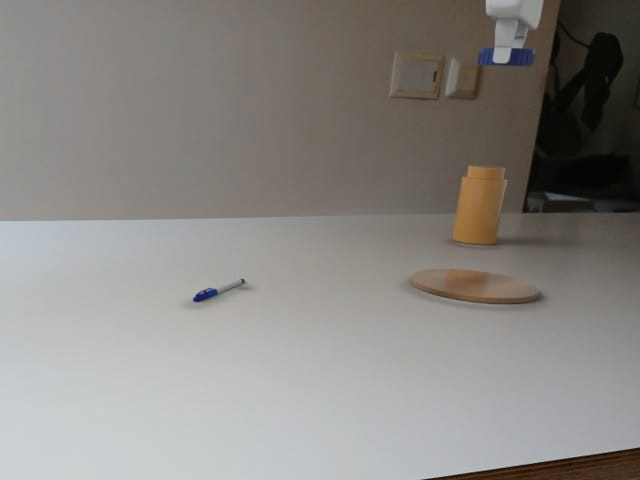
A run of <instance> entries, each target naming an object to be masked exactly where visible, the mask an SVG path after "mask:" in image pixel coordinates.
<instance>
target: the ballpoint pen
mask: <svg viewBox="0 0 640 480" xmlns="http://www.w3.org/2000/svg"><path fill="white" fill-rule="evenodd" d="M245 282H246V280H245V279H244V278H238V279H235V280H233V281H230V282H228V283H225V284H223V285H220V286H217V287H216V288H212V287H209V288H206V289H203V290H200V291H199V292H197V293H196V294H195V296H194V297H193V298H192V302H193V303H200V302H203V301H204V300H207V299H209V298H213V297H214V296H217V295H218V294H221V293H223V292H226V291H228V290H230V289H232V288H235V287H237V286H239V285H243V283H245Z"/></svg>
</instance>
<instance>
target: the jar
mask: <svg viewBox="0 0 640 480" xmlns="http://www.w3.org/2000/svg"><path fill="white" fill-rule="evenodd" d="M505 174H506V167H503V166H497V165H486V164H469V165H468V166H467V172H466V175H463V176H461V180H460V181H461V182H460V187H459V193H458V199H457V206H456V210H455V211H456V212H455V217H454V224H453V230H452V236H451V240H453V241H455V242H458V243H461V244H462V243H463V244H471V245H483V246H486V245H487V246H489V245H494V244H496V242H497V237H498V232H499V227H500V223H501V222H500V221H501V215H502V210H503V206H504V201H505V195H506V189H507V185H508V179H507V178H504V177H505V176H504V175H505Z"/></svg>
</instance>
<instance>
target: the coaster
mask: <svg viewBox="0 0 640 480" xmlns="http://www.w3.org/2000/svg"><path fill="white" fill-rule="evenodd" d="M410 283H411V284H412V286H414V287H415V288H417V289H418V290H421V291H423V292H426V293H429V294H433V295H435V296H440V297H443V298H448V299H454V300H459V301H466V302H473V303H483V304H504V305H507V304H508V305H509V304H522V303H524V304H525V303H529V302H533V301H535V300H537V299H538V297H539V294H540V290H539V288H538V287H537V286H536V285H534V284H532V283H530V282H528V281H525V280H522V279H520V278H517V277H516V278H515V277H512V276H509V275H503V274H499V273H493V272H487V271H479V270H471V269H456V268H453V269H452V268H434V269H433V268H432V269H423V270H420V271H416V272H414V273H413V274H412V275H411V277H410Z"/></svg>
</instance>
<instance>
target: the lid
mask: <svg viewBox="0 0 640 480" xmlns="http://www.w3.org/2000/svg"><path fill="white" fill-rule="evenodd" d="M494 49H495V47H481V48H480V51H479V52H478V58H477V62H476V64H477V65H478V66H483V67H484V66H487V67H505V66H512V67H511V68H515V67H518V68H531V67H533V66H534V62H535V56H536V54H535V53H536V49H534V48H523V47H522V48H513V51H512V55H511V61H510V62H509V63H507V64H498V63H495V62H493V55H494Z"/></svg>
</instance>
